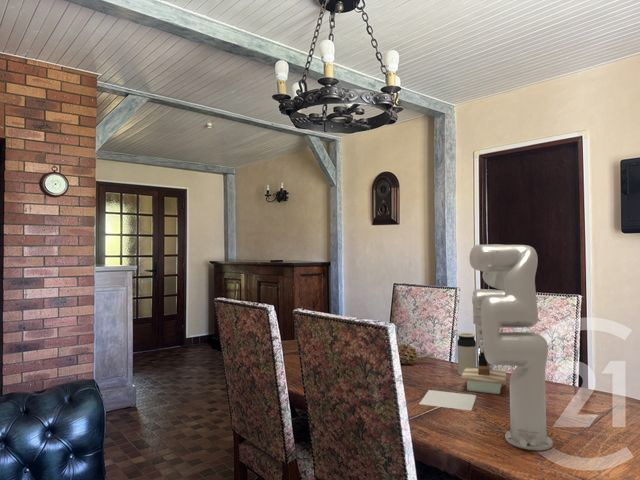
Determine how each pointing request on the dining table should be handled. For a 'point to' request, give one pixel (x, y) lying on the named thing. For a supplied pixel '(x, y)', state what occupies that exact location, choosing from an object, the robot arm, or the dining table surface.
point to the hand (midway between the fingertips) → (484, 363)
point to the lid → (484, 375)
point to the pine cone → (409, 354)
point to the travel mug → (466, 352)
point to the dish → (483, 387)
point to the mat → (448, 400)
